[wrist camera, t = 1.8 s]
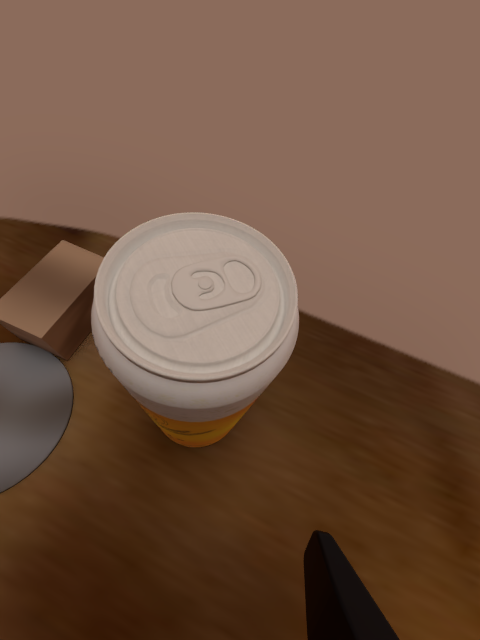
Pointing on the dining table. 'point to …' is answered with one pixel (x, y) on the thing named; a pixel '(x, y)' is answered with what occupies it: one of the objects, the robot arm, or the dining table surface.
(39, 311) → the beam vee
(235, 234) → the beer can
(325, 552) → the robot arm
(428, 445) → the dining table surface
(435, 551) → the dining table surface
